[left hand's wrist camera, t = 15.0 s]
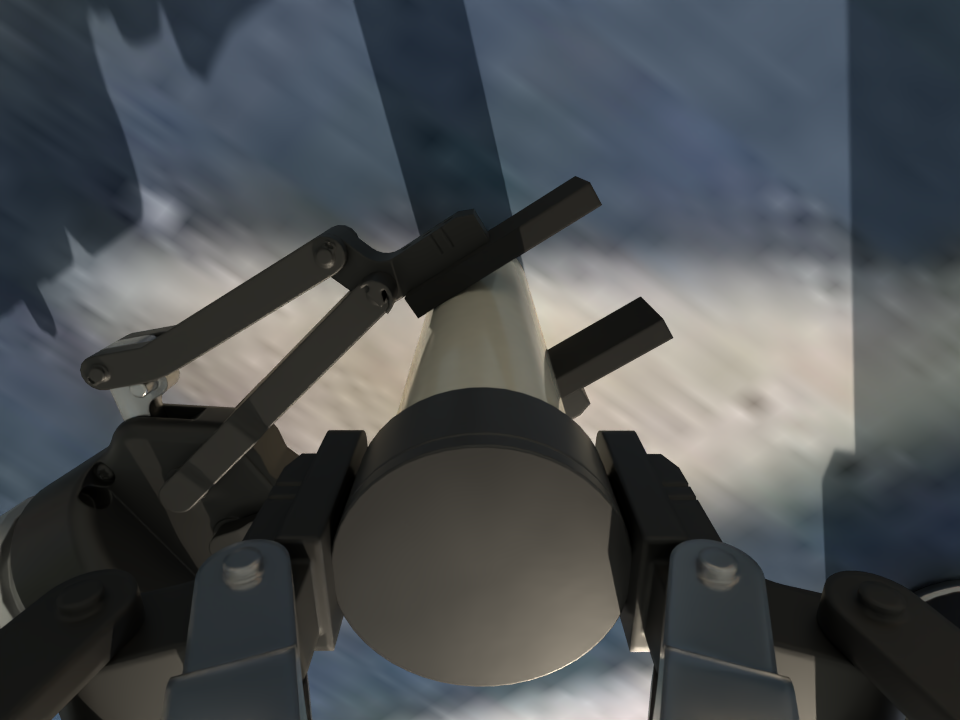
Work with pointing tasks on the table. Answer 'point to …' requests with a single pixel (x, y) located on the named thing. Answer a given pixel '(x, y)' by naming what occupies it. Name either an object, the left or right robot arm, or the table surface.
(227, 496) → the right robot arm
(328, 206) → the table surface
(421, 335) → the beige cylinder
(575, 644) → the lid
